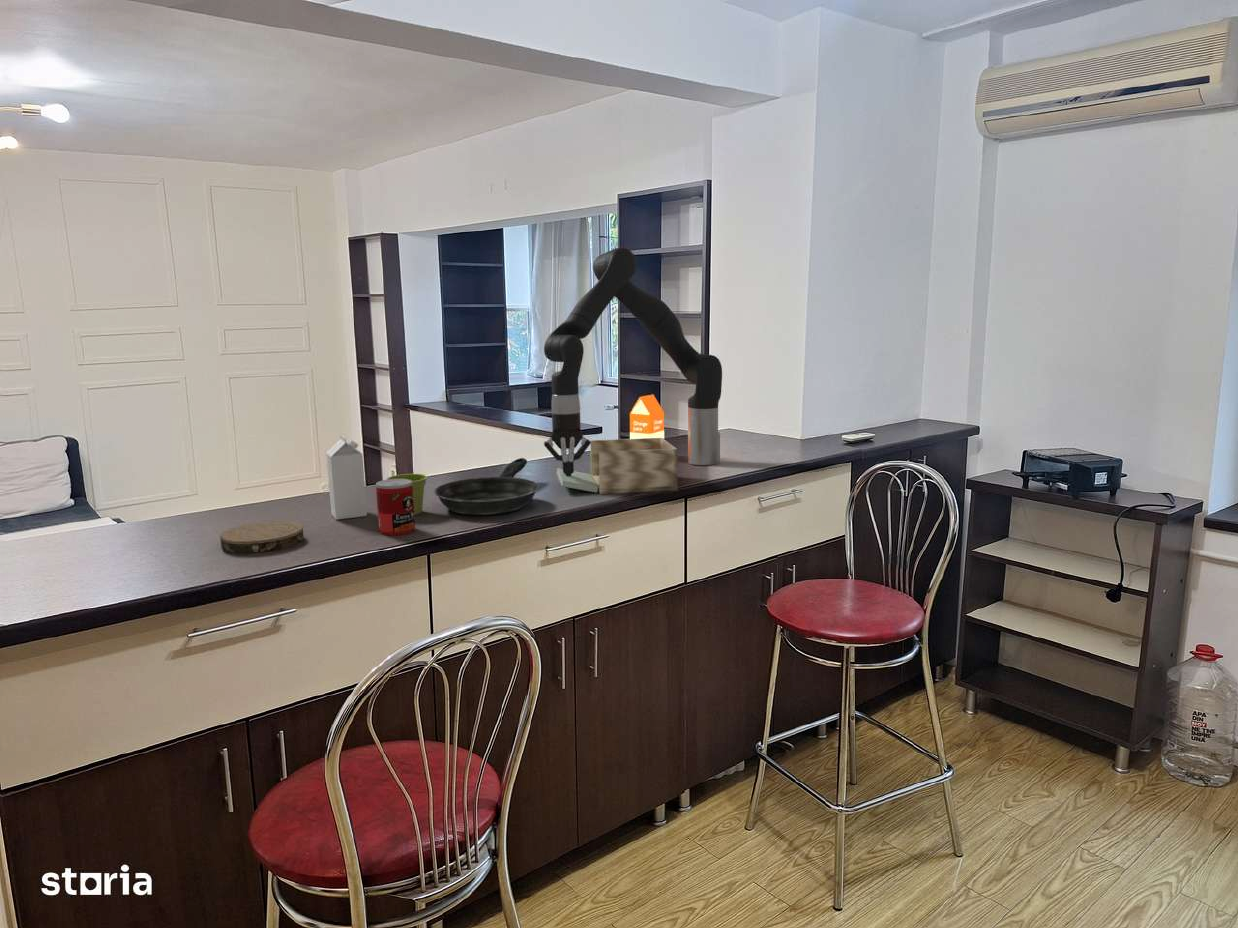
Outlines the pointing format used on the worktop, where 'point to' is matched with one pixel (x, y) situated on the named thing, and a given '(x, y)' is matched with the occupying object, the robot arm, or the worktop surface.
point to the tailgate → (577, 481)
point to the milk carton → (346, 480)
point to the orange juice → (647, 419)
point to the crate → (633, 465)
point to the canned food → (395, 506)
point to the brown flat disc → (261, 537)
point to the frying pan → (489, 492)
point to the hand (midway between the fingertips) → (568, 475)
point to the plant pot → (415, 488)
